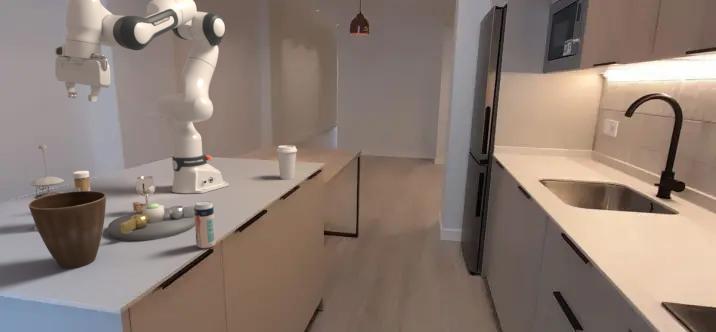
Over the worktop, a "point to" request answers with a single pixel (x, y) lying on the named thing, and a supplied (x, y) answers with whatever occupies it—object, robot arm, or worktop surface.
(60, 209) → the plant pot
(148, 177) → the wineglass
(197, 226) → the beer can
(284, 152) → the coffee cup
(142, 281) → the worktop surface
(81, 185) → the sprinkles bottle
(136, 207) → the knob copper
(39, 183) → the vented spool lamp
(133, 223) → the knob brass
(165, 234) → the tribrach
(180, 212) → the knob steel
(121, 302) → the worktop surface
